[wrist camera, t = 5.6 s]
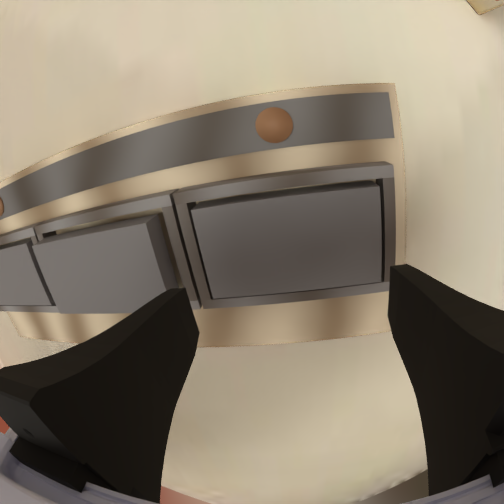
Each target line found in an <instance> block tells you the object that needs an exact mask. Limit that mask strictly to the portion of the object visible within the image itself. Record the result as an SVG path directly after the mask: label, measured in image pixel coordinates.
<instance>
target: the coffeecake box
mask: <svg viewBox="0 0 504 504" xmlns="http://www.w3.org/2000/svg"><path fill="white" fill-rule="evenodd" d="M467 1H468V2H469V4H470V5H471V6H472V7H473V8H474V10H475V11H476V12H477V13H478V14H479V15H481V14H484V13H486V12H488V11H490V10H493V9H495V8H497V7H500V6H502V5H504V0H467Z"/></svg>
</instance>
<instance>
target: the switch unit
mask: <svg viewBox="0 0 504 504" xmlns="http://www.w3.org/2000/svg"><path fill="white" fill-rule="evenodd" d="M360 181H373V182H374V183H376V184H377V185H378V186H380V201H381V230H382V269H381V282H375V283H368V284H360V285H351V286H343V287H334V288H325V289H316V290H307V291H297V292H287V293H276V294H265V295H254V296H242V297H229V298H216V299H213V296H212V293H211V289H210V285H209V281H208V277H207V274H206V270H205V266H204V262H203V258H202V254H201V250H200V246H199V242H198V238H197V234H196V230H195V226H194V222H193V217H192V213H191V210H192V209H193V208H194V207H195V206H196V205H197V204H198V203H199V202H204V201H210V200H216V199H223V198H229V197H236V196H243V195H249V194H257V193H264V192H271V191H279V190H287V189H295V188H303V187H312V186H321V185H330V184H340V183H350V182H360ZM155 214H158V217H159V220H160V224H161V228H162V232H163V235H164V239H165V242H166V246H167V249H168V253H169V256H170V260H171V263H172V267H173V270H174V273H175V277H176V280H177V283H178V286H179V288H186V291H187V294H188V298H189V301H190V304H191V307H192V310H193V313H194V317H195V320H196V323H197V326H198V329H199V332H200V334H199V339H198V344H197V347H230V346H253V345H270V344H284V343H297V342H308V341H318V340H328V339H337V338H345V337H353V336H361V335H368V334H375V333H382V332H389V331H391V327H390V324H389V320H388V316H387V314H388V300H389V282H390V266H395V265H403V264H405V254H406V188H405V168H404V154H403V142H402V132H401V123H400V115H399V108H398V101H397V94H396V88H395V83H370V84H346V85H331V86H319V87H309V88H300V89H291V90H284V91H277V92H270V93H263V94H257V95H251V96H246V97H240V98H235V99H230V100H225V101H220V102H216V103H211V104H207V105H202V106H198V107H194V108H190V109H186V110H182V111H178V112H175V113H171V114H167V115H164V116H160V117H157V118H153V119H150V120H147V121H144V122H140V123H137V124H134V125H131V126H128V127H125V128H122V129H119V130H116V131H114V132H111V133H108V134H105V135H103V136H100V137H97V138H95V139H92V140H89V141H87V142H84V143H82V144H79V145H77V146H74V147H72V148H70V149H67V150H65V151H63V152H60V153H58V154H56V155H54V156H51V157H49V158H47V159H45V160H43V161H41V162H39V163H37V164H34V165H32V166H30V167H28V168H26V169H24V170H22V171H20V172H19V173H17V174H15V175H13V176H11V177H9V178H7V179H5V180H4V181H2V182H0V246H1V245H5V244H9V243H12V242H16V241H20V240H23V239H27V238H31V239H32V242H33V245H34V244H36V243H38V242H39V241H41V240H42V239H44V238H46V237H49V236H53V235H58V234H62V233H67V232H71V231H75V230H80V229H85V228H89V227H94V226H99V225H104V224H108V223H113V222H118V221H123V220H129V219H134V218H139V217H144V216H150V215H155ZM0 311H7V313H8V315H9V317H10V319H11V321H12V323H13V325H14V327H15V328H16V330H17V332H18V334H19V336H20V337H25V338H33V339H41V340H50V341H60V342H70V343H83V342H85V341H87V340H89V339H91V338H92V337H94V336H96V335H98V334H100V333H102V332H103V331H105V330H107V329H109V328H110V327H112V326H113V325H115V324H116V323H118V322H119V321H121V320H123V319H124V318H126V317H127V316H129V315H130V314H132V313H116V314H60V312H59V310H58V308H57V306H56V304H55V303H53V304H52V305H0Z"/></svg>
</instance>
